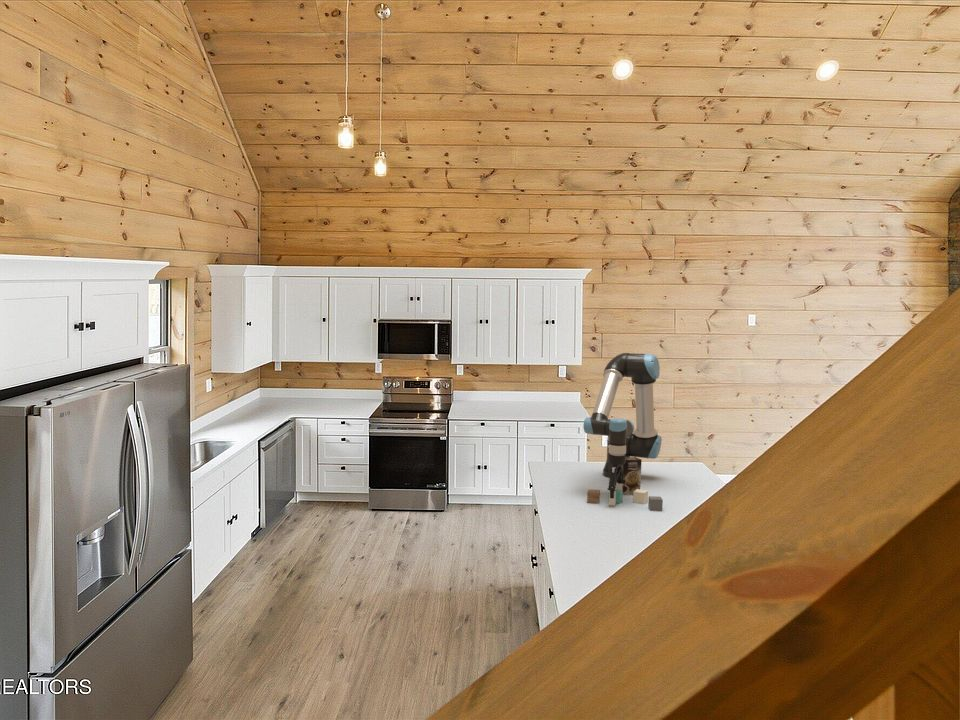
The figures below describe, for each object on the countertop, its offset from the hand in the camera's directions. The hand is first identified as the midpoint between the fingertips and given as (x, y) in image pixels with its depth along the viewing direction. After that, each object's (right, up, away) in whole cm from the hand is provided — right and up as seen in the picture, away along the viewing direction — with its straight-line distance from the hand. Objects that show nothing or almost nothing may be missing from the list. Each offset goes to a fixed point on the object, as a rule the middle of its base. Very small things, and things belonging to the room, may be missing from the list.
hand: (615, 501), depth 341 cm
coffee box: (+9, +1, +17) cm, 19 cm away
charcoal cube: (+15, -1, -10) cm, 18 cm away
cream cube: (+11, 0, +1) cm, 11 cm away
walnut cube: (-10, 0, 0) cm, 10 cm away
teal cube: (0, 0, 0) cm, 0 cm away
